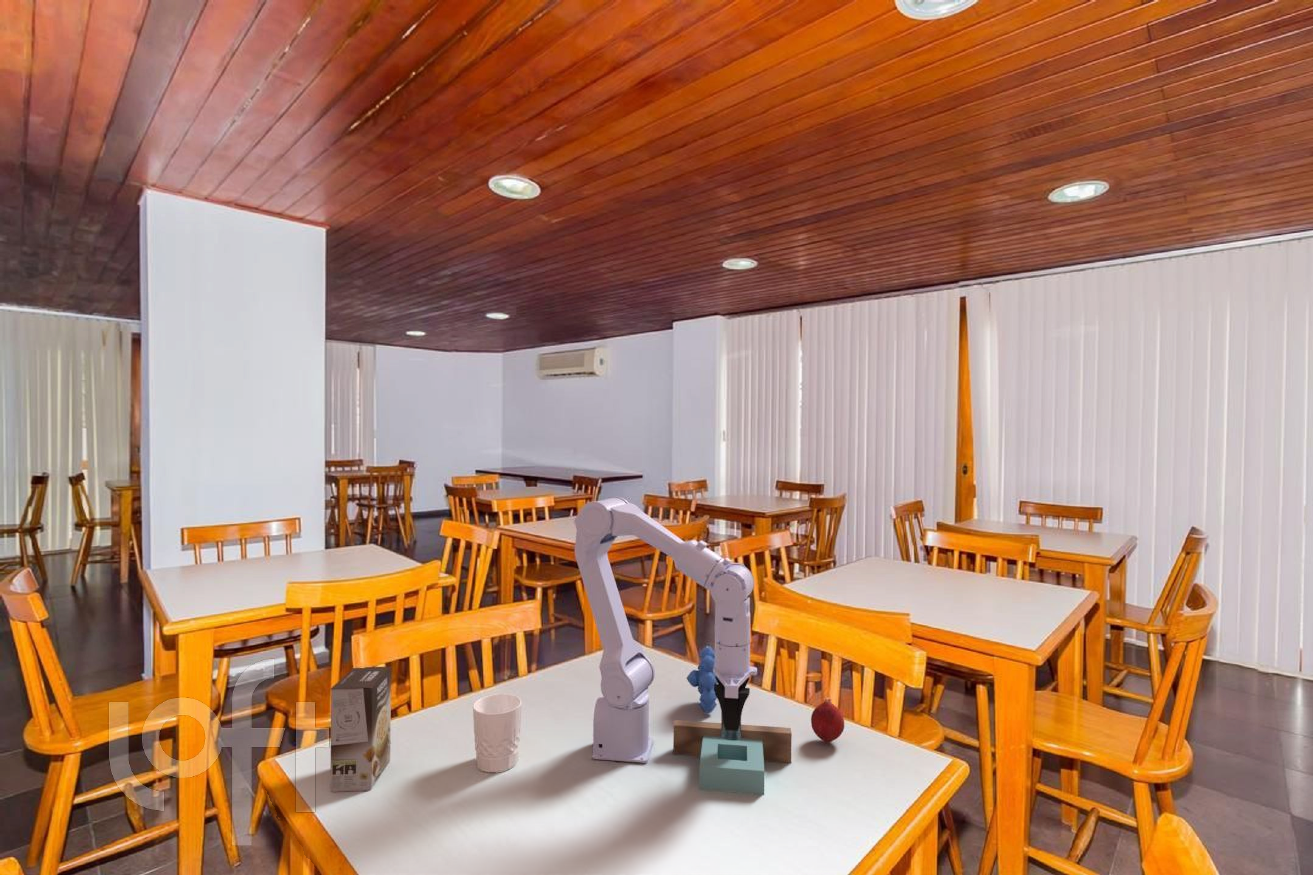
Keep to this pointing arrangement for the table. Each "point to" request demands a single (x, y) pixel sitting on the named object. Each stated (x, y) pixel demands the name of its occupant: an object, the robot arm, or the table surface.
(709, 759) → the block
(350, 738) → the coffee box
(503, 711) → the white cup
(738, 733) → the dowel
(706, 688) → the grapes
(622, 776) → the table surface
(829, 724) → the onion
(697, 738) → the wall
